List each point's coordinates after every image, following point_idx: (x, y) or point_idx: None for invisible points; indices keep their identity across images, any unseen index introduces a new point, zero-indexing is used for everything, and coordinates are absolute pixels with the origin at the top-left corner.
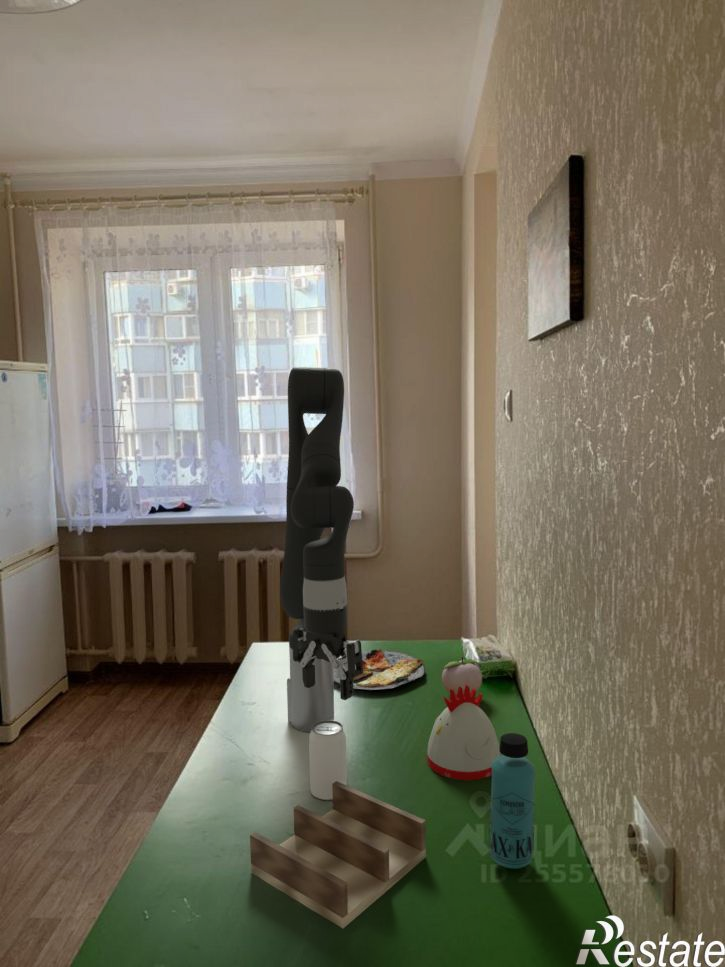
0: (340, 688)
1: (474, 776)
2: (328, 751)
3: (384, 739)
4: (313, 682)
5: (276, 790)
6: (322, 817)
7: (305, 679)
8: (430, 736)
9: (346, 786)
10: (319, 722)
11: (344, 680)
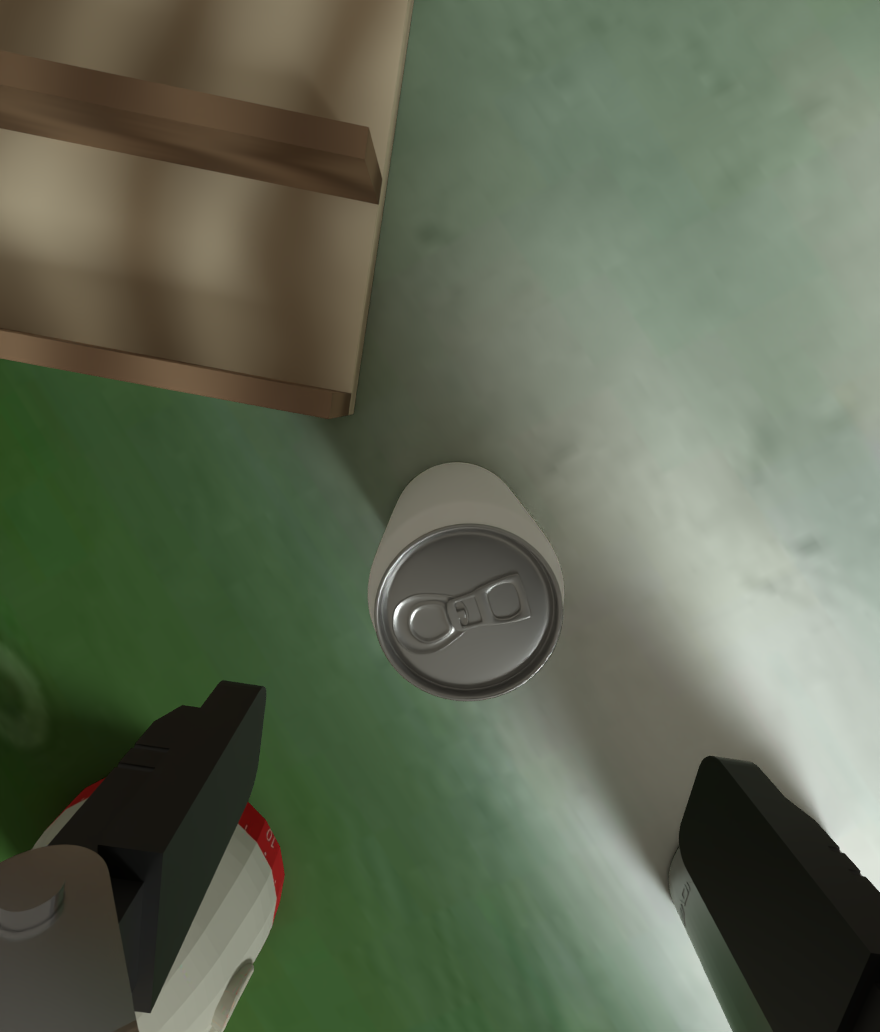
0: (217, 752)
1: (77, 797)
2: (410, 508)
3: (458, 877)
4: (697, 852)
5: (625, 444)
6: (210, 123)
7: (780, 816)
8: (238, 910)
9: (265, 400)
10: (546, 650)
11: (104, 857)
